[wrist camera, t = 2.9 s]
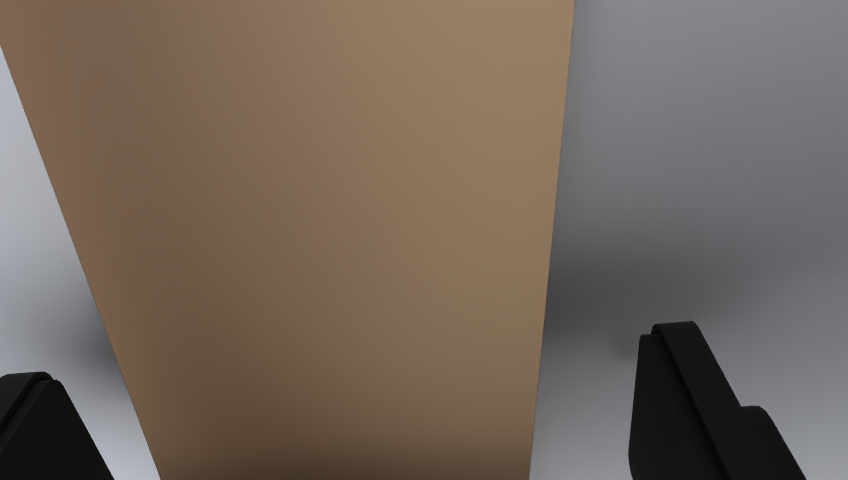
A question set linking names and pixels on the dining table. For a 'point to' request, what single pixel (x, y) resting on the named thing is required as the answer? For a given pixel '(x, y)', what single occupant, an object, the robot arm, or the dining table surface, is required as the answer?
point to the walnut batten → (310, 221)
